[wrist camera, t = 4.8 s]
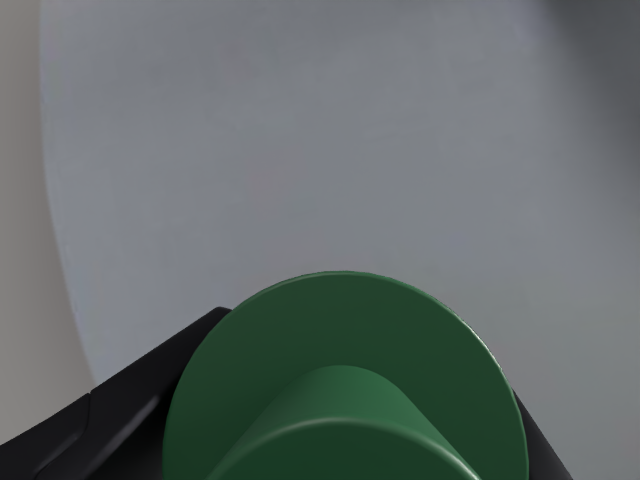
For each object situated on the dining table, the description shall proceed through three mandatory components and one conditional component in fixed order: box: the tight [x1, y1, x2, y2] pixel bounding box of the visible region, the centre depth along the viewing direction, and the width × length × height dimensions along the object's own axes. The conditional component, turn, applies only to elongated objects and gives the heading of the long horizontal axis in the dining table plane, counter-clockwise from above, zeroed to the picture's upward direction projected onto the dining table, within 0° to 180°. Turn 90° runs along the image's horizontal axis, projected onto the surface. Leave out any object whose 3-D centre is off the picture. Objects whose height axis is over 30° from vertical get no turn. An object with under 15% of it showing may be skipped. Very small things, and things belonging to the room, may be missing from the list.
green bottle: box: [162, 271, 529, 480], centre depth 10 cm, size 6×6×14 cm
